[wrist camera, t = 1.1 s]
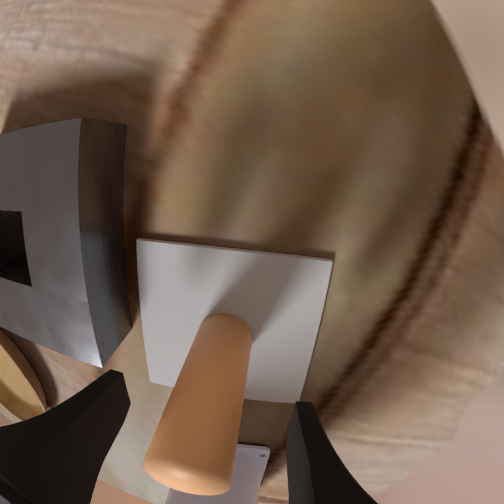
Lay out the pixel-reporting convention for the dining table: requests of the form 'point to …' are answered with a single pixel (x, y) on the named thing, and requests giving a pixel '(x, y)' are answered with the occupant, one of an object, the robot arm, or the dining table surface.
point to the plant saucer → (19, 382)
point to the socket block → (64, 237)
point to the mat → (232, 309)
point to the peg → (204, 411)
